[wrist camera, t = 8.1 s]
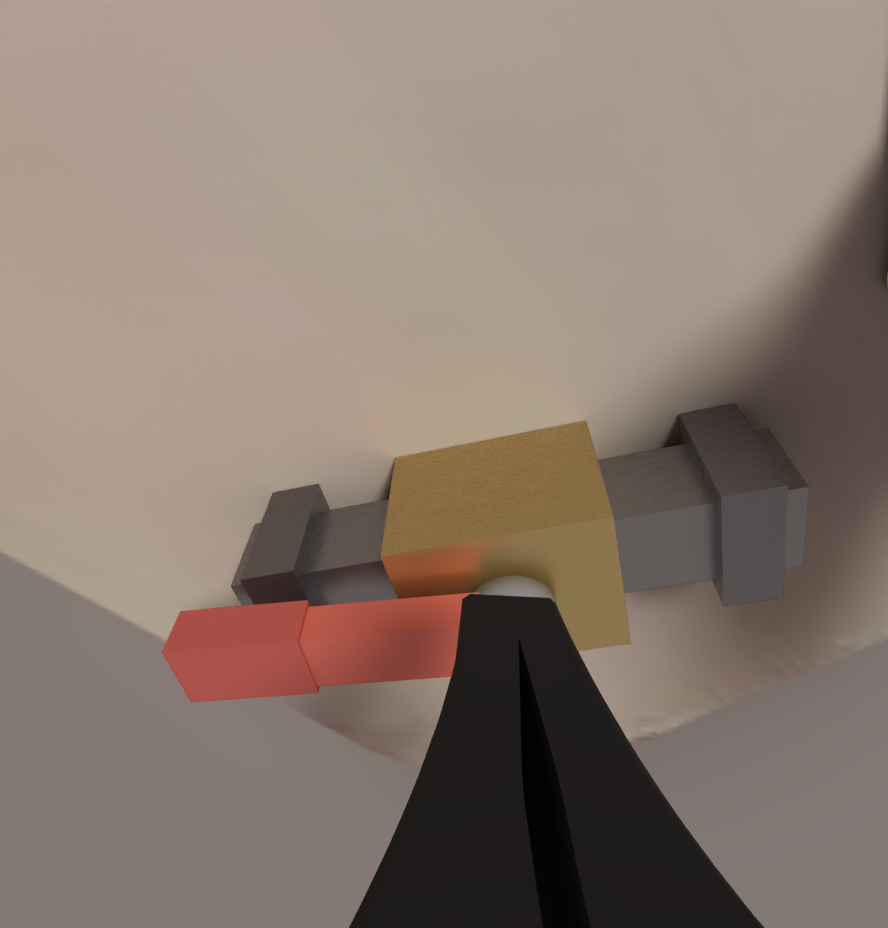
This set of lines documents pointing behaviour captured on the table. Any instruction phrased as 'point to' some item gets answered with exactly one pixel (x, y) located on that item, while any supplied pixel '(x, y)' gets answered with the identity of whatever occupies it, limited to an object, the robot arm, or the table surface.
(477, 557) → the pipe valve
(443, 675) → the lever
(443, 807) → the robot arm
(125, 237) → the table surface
